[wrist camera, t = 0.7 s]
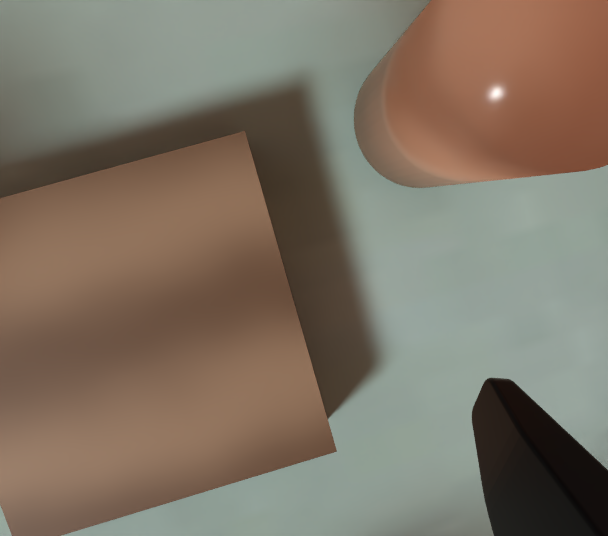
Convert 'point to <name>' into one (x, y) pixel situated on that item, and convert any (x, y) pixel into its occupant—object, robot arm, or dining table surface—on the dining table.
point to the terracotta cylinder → (489, 93)
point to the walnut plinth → (147, 341)
